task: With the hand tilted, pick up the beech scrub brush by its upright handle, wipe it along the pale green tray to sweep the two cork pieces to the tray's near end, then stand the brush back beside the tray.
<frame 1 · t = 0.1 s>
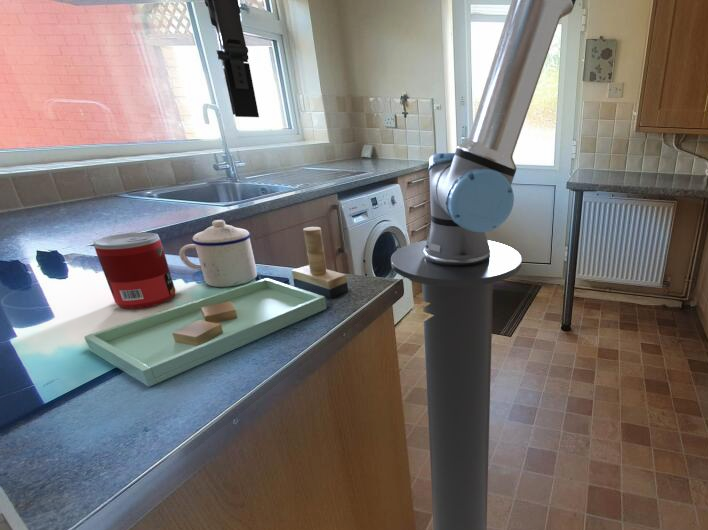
hand: (245, 116, 60), 30 cm above the counter, tool pointing down, fingers open, 13 cm apart
teacup with lid: (224, 280, 80), on the counter
canned food: (148, 301, 70), on the counter
tray: (222, 327, 63), on the counter
brush: (321, 288, 78), on the counter
cork piece b: (220, 317, 64), point 1 cm above the counter, touching tray
cork piece a: (199, 337, 58), point 1 cm above the counter, touching tray
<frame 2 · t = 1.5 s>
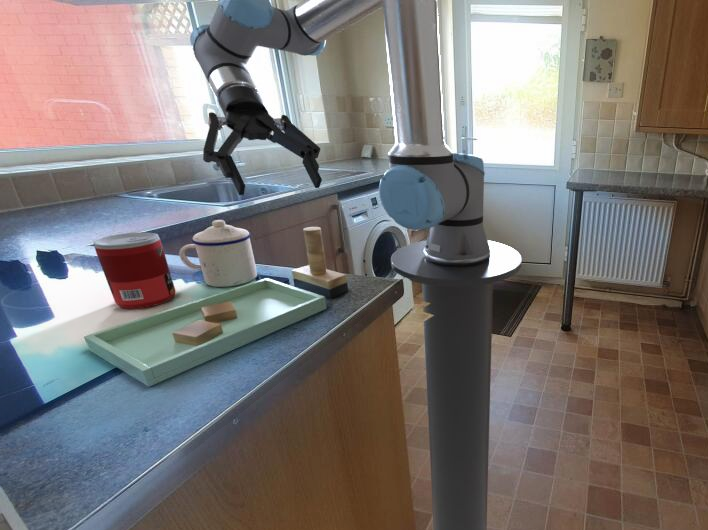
hand: (282, 187, 77), 18 cm above the counter, tool tilted 45°, fingers open, 13 cm apart
nothing on the counter moved.
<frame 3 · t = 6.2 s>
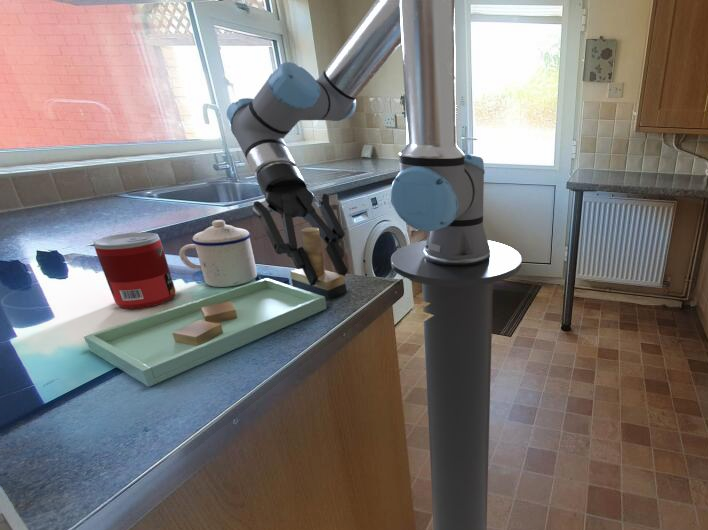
hand: (329, 277, 74), 3 cm above the counter, tool tilted 45°, fingers closed on brush, 5 cm apart
brush: (319, 289, 77), on the counter, touching gripper
everything else where it was.
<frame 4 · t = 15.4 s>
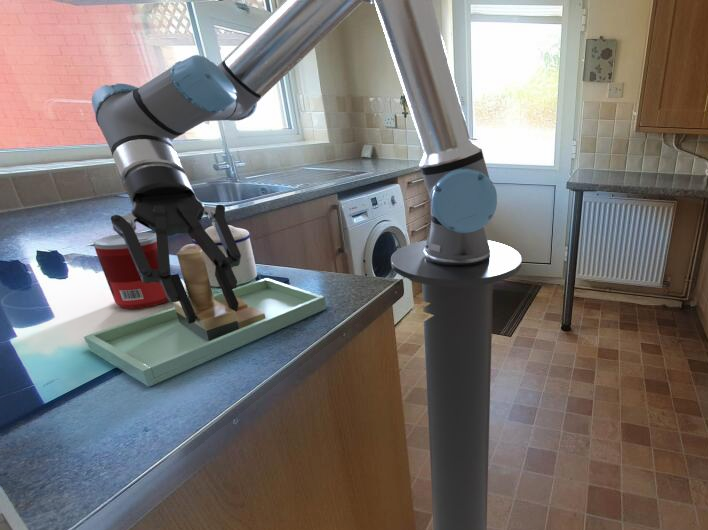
hand: (214, 313, 58), 4 cm above the counter, tool tilted 45°, fingers closed on brush, 4 cm apart
brush: (209, 327, 61), point 1 cm above the counter, touching cork piece a, gripper
cork piece b: (230, 312, 66), point 1 cm above the counter, touching tray
cork piece a: (246, 322, 63), point 1 cm above the counter, touching brush
everything else where it was.
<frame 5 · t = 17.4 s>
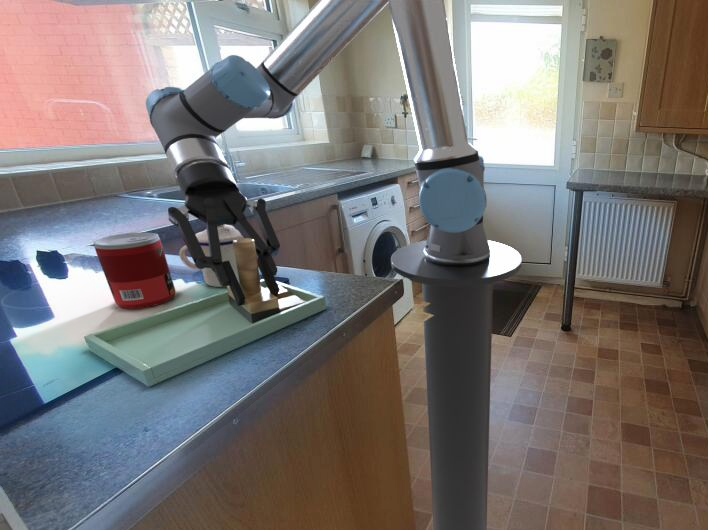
hand: (259, 297, 63), 4 cm above the counter, tool tilted 45°, fingers closed on brush, 4 cm apart
brush: (254, 310, 66), point 1 cm above the counter, touching cork piece b, gripper, tray
cork piece b: (273, 298, 71), point 1 cm above the counter, touching brush, tray
cork piece a: (289, 309, 67), point 1 cm above the counter, touching tray
everything else where it was.
when the fingers open (4 cm above the counter, at t = 23.3 s): brush stays where it is, on the counter.
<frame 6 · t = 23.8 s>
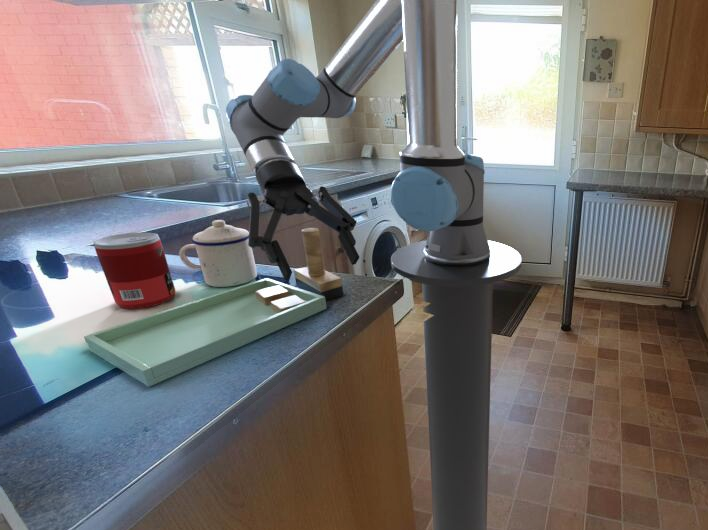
hand: (324, 268, 74), 5 cm above the counter, tool tilted 45°, fingers open, 12 cm apart
brush: (319, 290, 77), on the counter
cork piece b: (273, 298, 71), point 1 cm above the counter, touching tray
everything else where it was.
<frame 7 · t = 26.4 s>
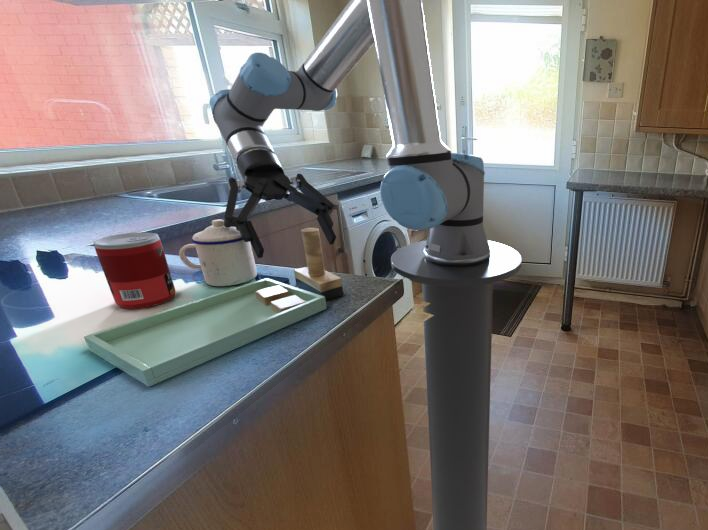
hand: (299, 247, 80), 6 cm above the counter, tool tilted 45°, fingers open, 13 cm apart
teacup with lid: (224, 280, 80), on the counter, touching gripper
everything else where it was.
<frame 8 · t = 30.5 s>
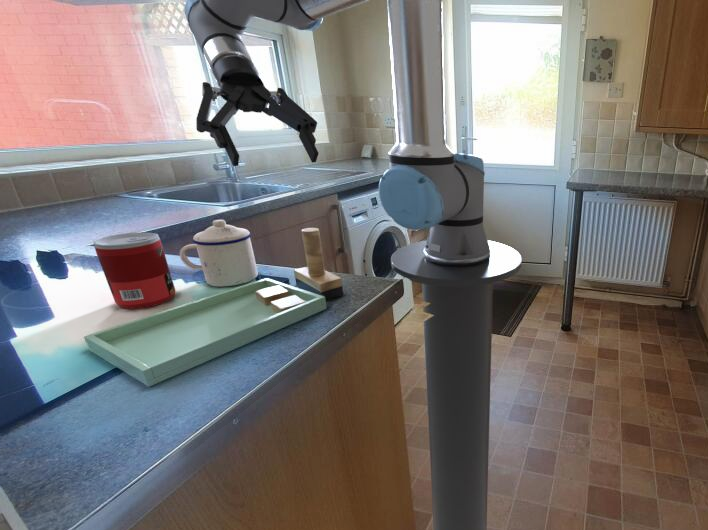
hand: (278, 159, 75), 23 cm above the counter, tool tilted 45°, fingers open, 13 cm apart
teacup with lid: (224, 280, 80), on the counter
everything else where it was.
at the end: cork piece a inside the target area (4.6 cm from its centre), point 0.8 cm above the counter; cork piece b inside the target area (2.2 cm from its centre), point 0.8 cm above the counter; brush inside the target area (0.8 cm from its centre), on the counter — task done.
